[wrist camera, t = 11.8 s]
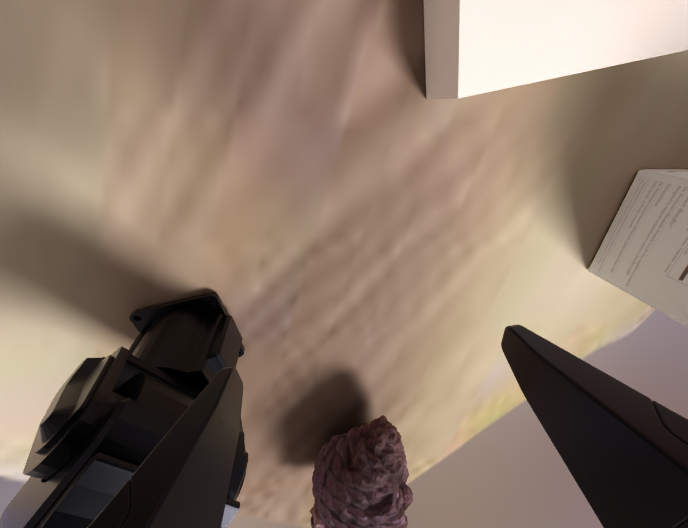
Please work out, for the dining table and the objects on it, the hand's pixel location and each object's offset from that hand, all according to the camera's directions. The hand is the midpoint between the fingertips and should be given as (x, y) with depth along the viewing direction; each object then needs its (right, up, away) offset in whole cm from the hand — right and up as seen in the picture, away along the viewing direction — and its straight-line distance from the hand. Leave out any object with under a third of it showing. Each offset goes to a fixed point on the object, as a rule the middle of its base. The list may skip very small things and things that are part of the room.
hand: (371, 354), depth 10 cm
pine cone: (0, -16, +24) cm, 29 cm away
